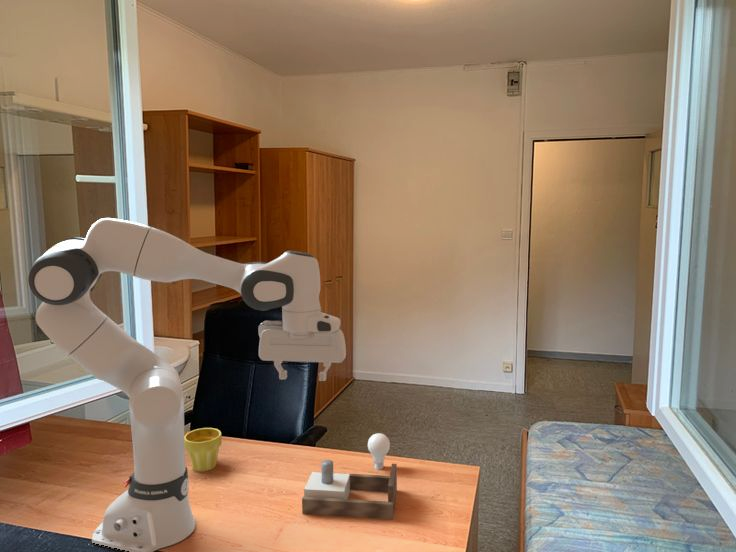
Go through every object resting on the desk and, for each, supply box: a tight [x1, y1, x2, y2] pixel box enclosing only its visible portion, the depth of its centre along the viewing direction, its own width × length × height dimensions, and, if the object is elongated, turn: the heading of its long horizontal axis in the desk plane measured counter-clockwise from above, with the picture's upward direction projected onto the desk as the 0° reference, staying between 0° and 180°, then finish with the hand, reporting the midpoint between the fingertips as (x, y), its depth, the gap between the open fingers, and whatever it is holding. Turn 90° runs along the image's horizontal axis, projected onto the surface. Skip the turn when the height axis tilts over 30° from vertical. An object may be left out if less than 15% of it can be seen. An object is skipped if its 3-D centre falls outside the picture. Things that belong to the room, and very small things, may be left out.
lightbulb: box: [367, 432, 391, 471], centre depth 156 cm, size 6×6×11 cm
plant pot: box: [184, 427, 223, 472], centre depth 160 cm, size 10×10×10 cm
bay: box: [301, 463, 398, 521], centre depth 138 cm, size 22×14×9 cm, turn 83°
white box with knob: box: [303, 459, 351, 499], centre depth 139 cm, size 10×9×10 cm
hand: (302, 379), depth 128 cm, fingers open, 8 cm apart
